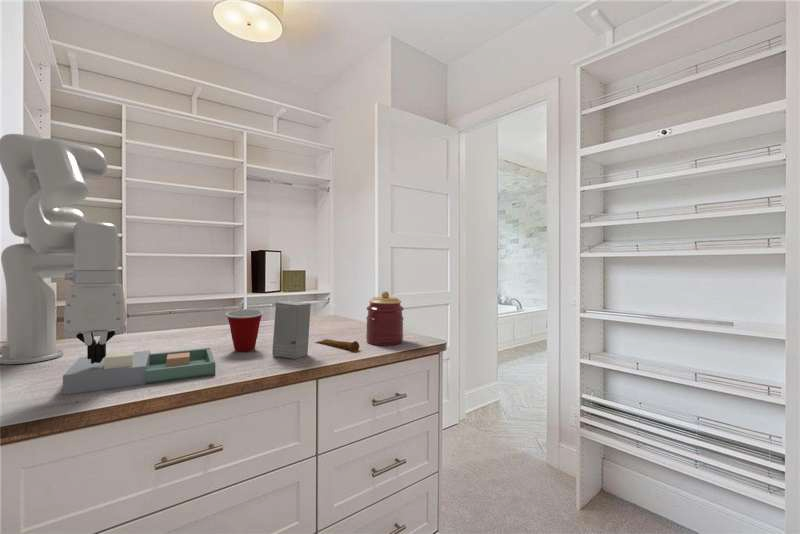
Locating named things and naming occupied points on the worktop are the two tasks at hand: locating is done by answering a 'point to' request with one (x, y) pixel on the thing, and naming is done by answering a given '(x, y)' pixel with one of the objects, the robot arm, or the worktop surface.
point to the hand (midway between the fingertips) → (96, 361)
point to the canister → (384, 320)
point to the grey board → (104, 375)
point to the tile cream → (119, 359)
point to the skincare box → (291, 329)
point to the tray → (198, 367)
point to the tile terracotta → (178, 359)
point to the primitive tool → (341, 344)
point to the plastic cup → (244, 328)
